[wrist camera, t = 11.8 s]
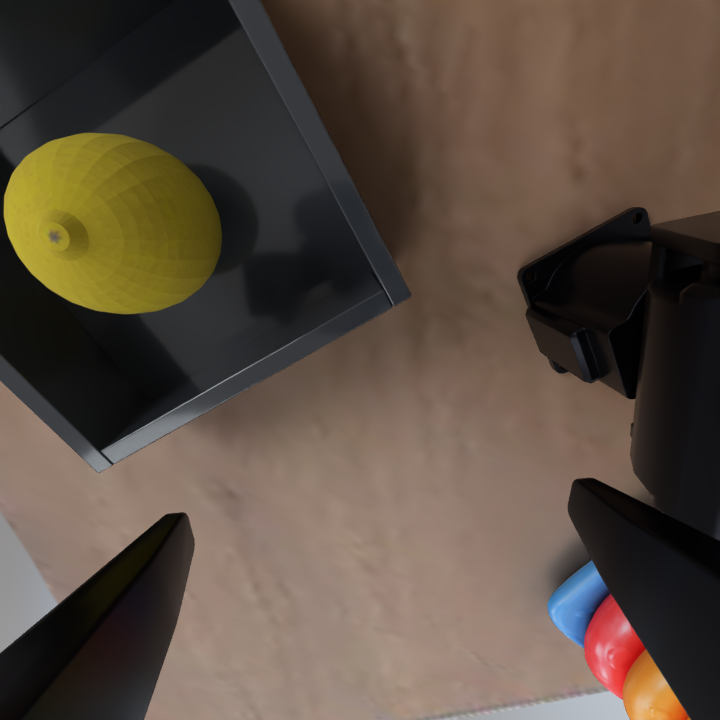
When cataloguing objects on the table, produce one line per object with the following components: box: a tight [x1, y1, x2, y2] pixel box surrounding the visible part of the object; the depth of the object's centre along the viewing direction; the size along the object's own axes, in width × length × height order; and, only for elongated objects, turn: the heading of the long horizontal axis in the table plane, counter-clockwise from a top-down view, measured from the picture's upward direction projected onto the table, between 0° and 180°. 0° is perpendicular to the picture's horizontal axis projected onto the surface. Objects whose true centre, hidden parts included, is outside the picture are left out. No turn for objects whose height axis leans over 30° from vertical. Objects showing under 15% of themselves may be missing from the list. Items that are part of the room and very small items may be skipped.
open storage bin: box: [0, 0, 411, 473], centre depth 15 cm, size 15×14×5 cm
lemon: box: [4, 133, 222, 314], centre depth 13 cm, size 6×6×8 cm
